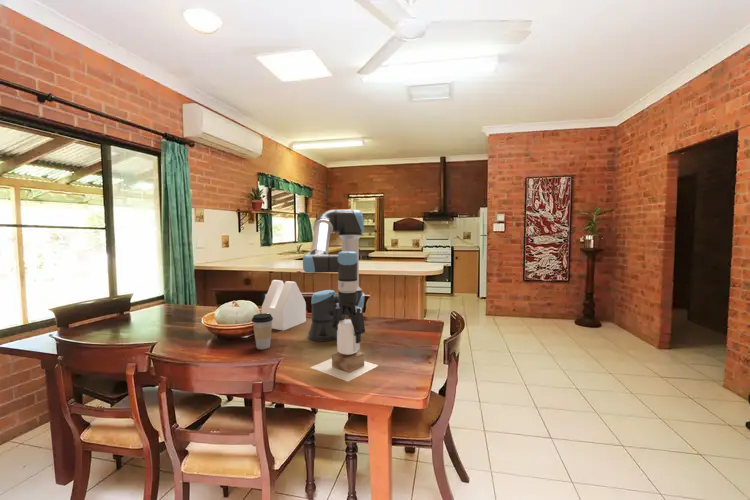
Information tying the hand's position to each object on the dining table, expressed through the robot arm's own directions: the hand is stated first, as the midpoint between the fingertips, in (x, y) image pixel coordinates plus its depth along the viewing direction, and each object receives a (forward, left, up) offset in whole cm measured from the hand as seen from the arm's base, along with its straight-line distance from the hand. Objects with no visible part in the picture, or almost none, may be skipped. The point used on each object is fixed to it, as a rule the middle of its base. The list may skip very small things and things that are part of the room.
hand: (348, 348), depth 137 cm
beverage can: (0, 0, -2) cm, 2 cm away
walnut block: (0, 0, -7) cm, 7 cm away
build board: (-1, -1, -8) cm, 9 cm away
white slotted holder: (-71, +24, -9) cm, 75 cm away
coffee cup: (-48, -6, -9) cm, 49 cm away
